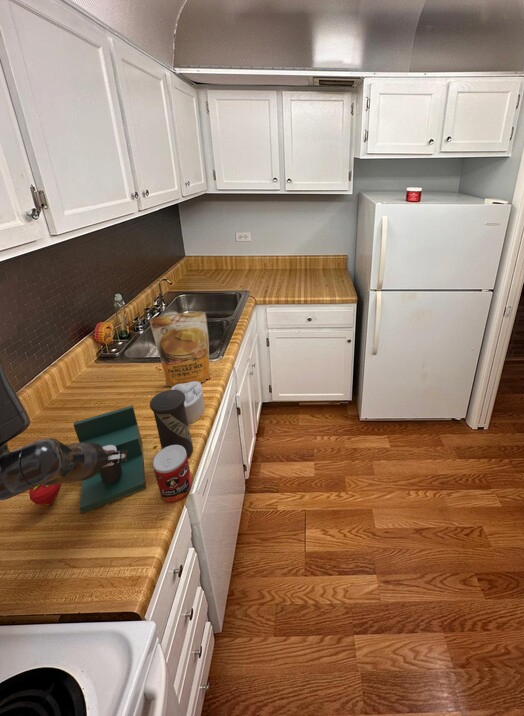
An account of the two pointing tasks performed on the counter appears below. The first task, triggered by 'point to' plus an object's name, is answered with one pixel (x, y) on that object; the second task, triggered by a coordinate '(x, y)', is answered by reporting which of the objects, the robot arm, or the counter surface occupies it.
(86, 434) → the spice shelf
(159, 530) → the counter surface
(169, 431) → the container
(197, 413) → the lumpy-topped squat cylinder
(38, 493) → the strawberry
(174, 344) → the pancake mix bag
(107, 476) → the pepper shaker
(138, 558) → the counter surface
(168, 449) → the canned food
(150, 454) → the counter surface
